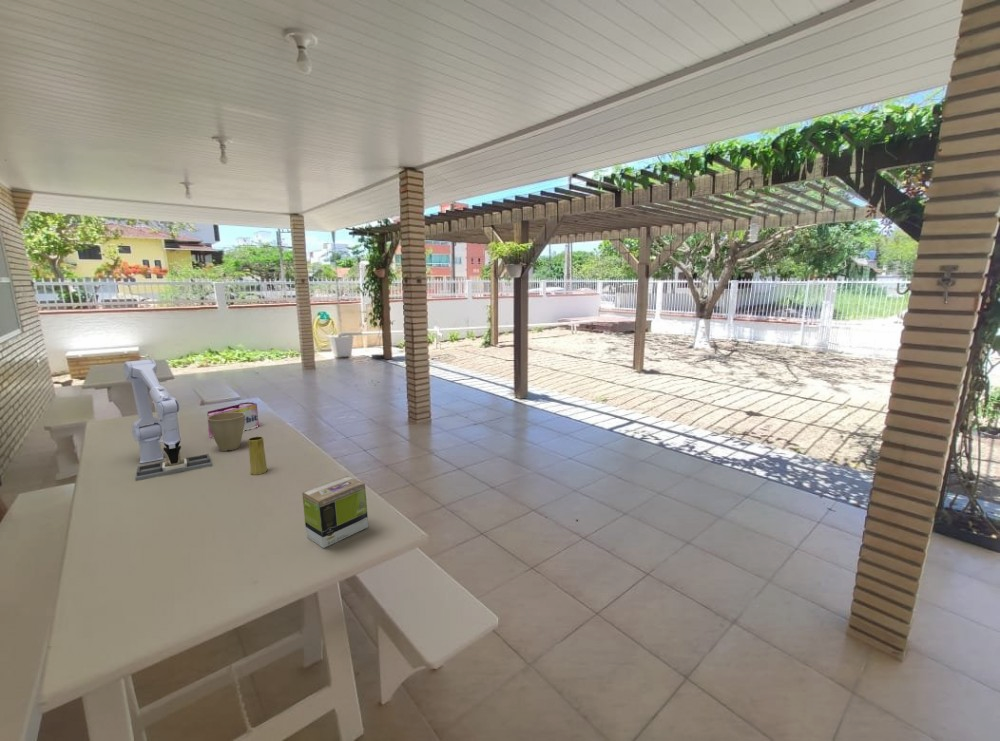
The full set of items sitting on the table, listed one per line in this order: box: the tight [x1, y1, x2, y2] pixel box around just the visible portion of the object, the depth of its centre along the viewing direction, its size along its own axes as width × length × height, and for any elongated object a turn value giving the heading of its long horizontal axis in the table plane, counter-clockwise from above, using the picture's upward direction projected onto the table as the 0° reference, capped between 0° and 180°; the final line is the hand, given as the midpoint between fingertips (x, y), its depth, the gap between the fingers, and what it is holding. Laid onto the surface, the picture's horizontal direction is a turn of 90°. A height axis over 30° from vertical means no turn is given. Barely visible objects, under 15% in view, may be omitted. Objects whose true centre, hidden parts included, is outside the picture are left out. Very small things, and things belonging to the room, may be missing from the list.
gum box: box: [206, 402, 260, 438], centre depth 229 cm, size 24×8×14 cm, turn 156°
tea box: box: [302, 475, 369, 549], centre depth 130 cm, size 15×10×15 cm
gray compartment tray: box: [135, 453, 213, 481], centre depth 180 cm, size 11×25×3 cm, turn 127°
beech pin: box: [165, 450, 182, 466], centre depth 180 cm, size 4×4×6 cm
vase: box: [247, 436, 268, 476], centre depth 176 cm, size 6×6×14 cm
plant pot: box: [207, 412, 245, 452], centre depth 204 cm, size 15×15×16 cm
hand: (174, 460), depth 180 cm, fingers open, 7 cm apart
